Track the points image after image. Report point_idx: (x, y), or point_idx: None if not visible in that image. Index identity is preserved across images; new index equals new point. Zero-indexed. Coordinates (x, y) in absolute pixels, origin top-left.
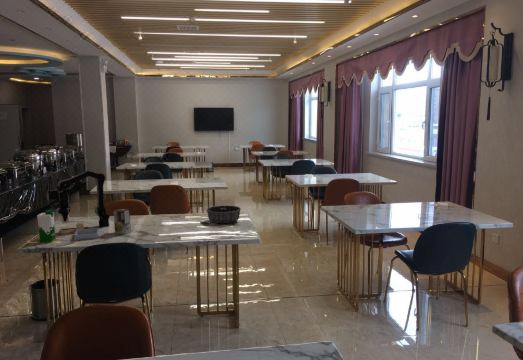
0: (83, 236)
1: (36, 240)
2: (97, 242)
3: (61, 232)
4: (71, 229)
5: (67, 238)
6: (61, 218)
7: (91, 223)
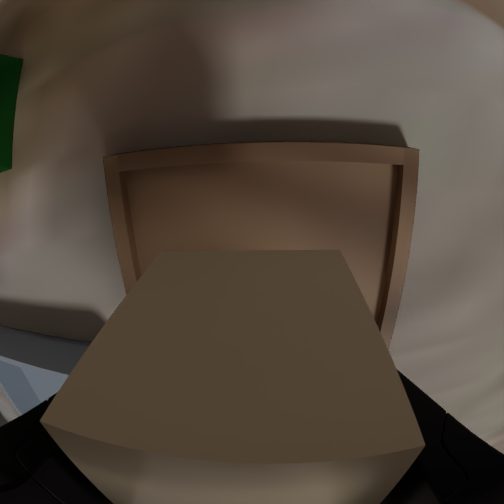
0: (12, 385)
1: (20, 6)
2: (8, 407)
3: (241, 175)
4: (371, 285)
5: (27, 275)
6: (100, 331)
7: (498, 387)
